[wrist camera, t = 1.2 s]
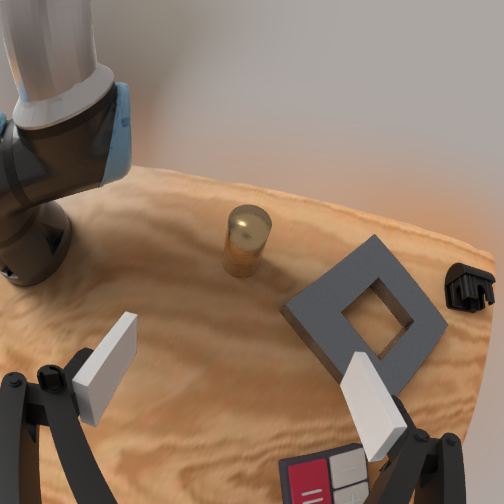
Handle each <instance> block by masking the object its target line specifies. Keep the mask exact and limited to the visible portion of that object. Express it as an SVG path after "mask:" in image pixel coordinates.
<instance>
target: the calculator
mask: <svg viewBox="0 0 504 504" xmlns="http://www.w3.org/2000/svg"><path fill="white" fill-rule="evenodd" d="M279 472H280V481H281V490H282V498H283V504H363V503H364V501H365V500H366V498H367V496H368V495H369V493H370V488H369V478H368V468H367V459H366V453H365V450H364V448H363V445H362V444H359V443H352V444H348V445H345V446H341V447H337V448H333V449H329V450H325V451H321V452H317V453H312V454H308V455H303V456H298V457H292V458H287V459H281V460H280V461H279Z"/></svg>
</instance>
